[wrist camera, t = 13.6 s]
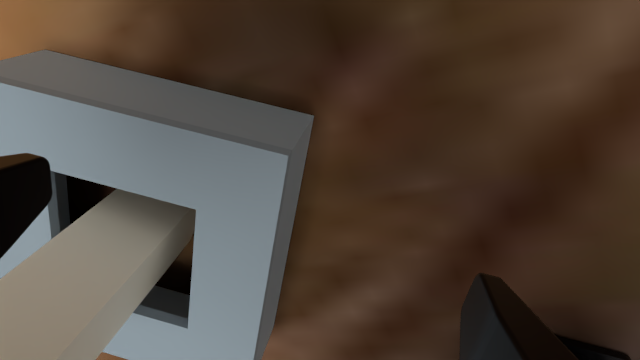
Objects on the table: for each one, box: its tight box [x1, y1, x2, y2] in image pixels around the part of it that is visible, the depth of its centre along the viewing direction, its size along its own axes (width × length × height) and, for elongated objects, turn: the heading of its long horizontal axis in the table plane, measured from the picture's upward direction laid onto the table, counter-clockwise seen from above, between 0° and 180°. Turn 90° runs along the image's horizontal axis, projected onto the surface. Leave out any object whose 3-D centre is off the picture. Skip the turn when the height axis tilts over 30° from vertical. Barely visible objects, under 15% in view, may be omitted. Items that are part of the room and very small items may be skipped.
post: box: [0, 189, 196, 360], centre depth 20 cm, size 4×4×12 cm
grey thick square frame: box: [0, 50, 314, 360], centre depth 23 cm, size 14×14×5 cm
